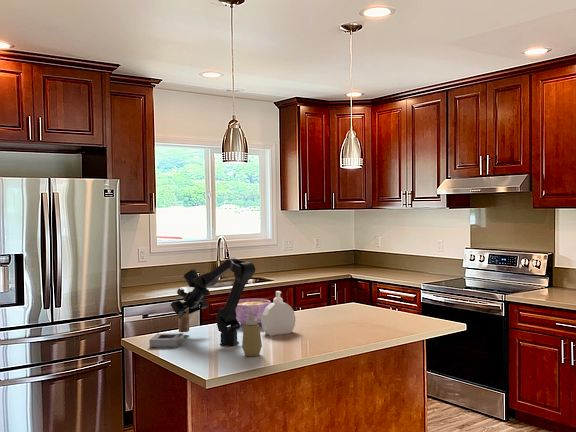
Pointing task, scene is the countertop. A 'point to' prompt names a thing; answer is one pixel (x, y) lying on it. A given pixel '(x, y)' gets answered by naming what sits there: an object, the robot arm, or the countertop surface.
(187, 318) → the walnut peg
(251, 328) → the squeeze bottle
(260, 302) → the bowl of food
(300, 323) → the countertop surface
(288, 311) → the soap bottle
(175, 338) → the socket block
